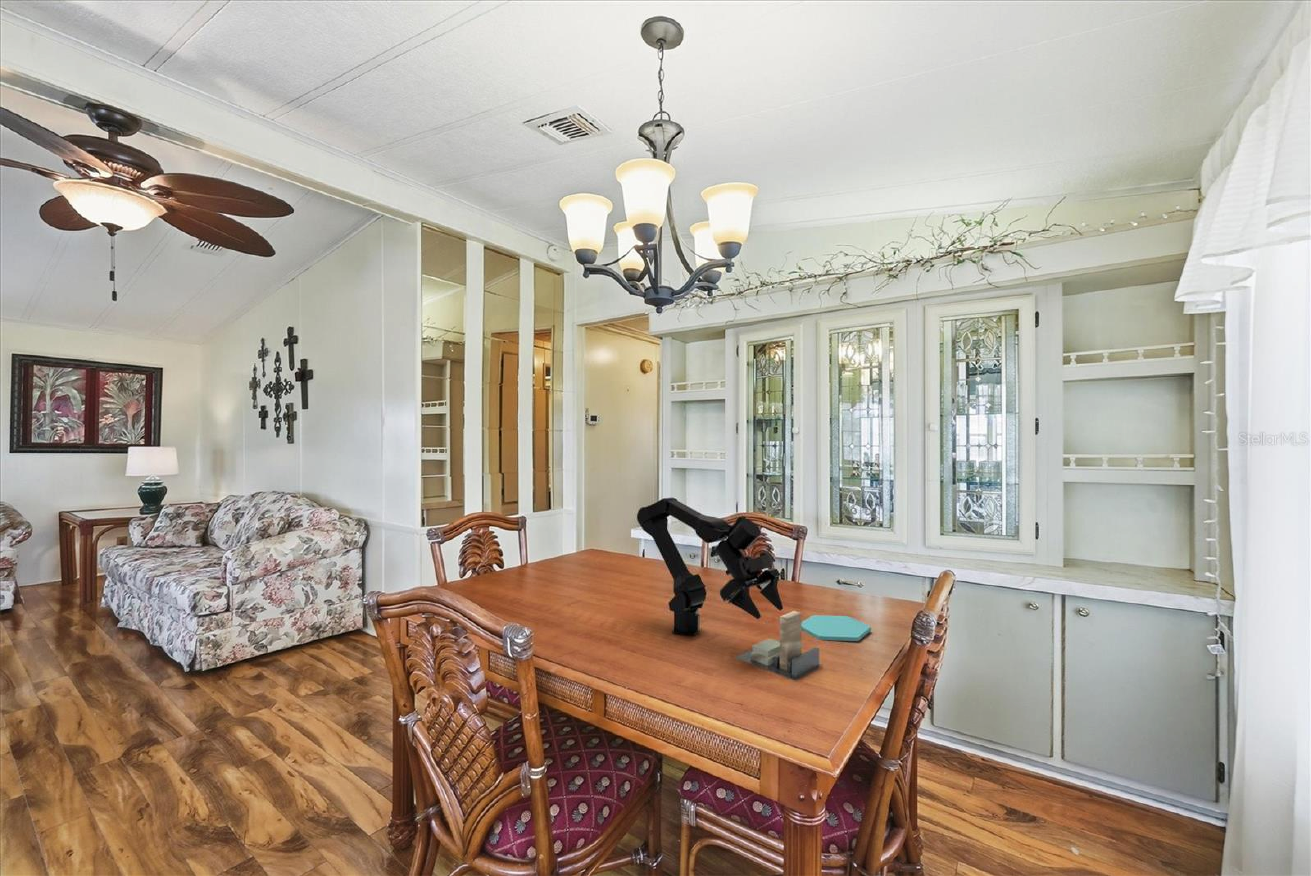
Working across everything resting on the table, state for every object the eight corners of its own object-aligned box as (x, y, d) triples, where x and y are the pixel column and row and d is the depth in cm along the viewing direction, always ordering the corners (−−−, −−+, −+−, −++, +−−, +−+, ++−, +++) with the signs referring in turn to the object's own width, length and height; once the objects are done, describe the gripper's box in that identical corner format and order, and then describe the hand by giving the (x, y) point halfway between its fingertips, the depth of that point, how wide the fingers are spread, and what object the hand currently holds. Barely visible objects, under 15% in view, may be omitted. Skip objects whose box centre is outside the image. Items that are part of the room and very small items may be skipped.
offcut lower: (750, 659, 130) (750, 653, 130) (770, 650, 135) (770, 644, 135) (768, 665, 126) (768, 659, 126) (787, 656, 132) (787, 650, 132)
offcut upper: (752, 651, 131) (752, 645, 131) (769, 644, 135) (769, 638, 135) (768, 657, 127) (768, 651, 127) (784, 649, 132) (784, 643, 132)
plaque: (799, 642, 146) (877, 645, 142) (799, 635, 146) (877, 638, 142) (796, 620, 163) (865, 622, 159) (796, 614, 163) (865, 616, 159)
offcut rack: (734, 661, 131) (734, 640, 131) (763, 648, 139) (763, 629, 139) (795, 685, 119) (795, 662, 119) (823, 669, 127) (823, 648, 127)
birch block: (779, 668, 125) (779, 616, 125) (793, 660, 129) (794, 610, 129) (787, 670, 123) (787, 618, 123) (801, 663, 128) (801, 612, 128)
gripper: (729, 546, 128) (768, 603, 120) (774, 537, 141) (812, 587, 133) (704, 573, 134) (739, 629, 126) (750, 562, 146) (784, 612, 138)
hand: (770, 613), depth 130 cm, fingers open, 9 cm apart
